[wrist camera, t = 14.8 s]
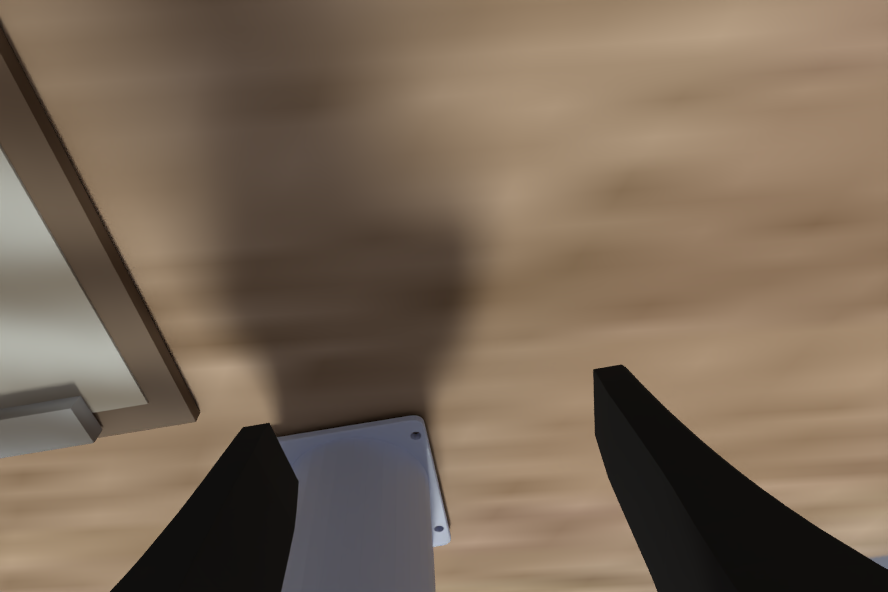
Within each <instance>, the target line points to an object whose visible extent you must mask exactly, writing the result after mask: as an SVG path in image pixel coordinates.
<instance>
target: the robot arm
mask: <svg viewBox="0 0 888 592" xmlns="http://www.w3.org/2000/svg"><path fill="white" fill-rule="evenodd" d="M593 378H594V417H595V436H596V440H597V443H598V446H599V449H600V453H601V456H602V459H603V462H604V466H605V469H606V472H607V475H608V478H609V480H610V483H611V485H612V487H613V490H614V492H615V494H616V497H617V499H618V501H619V504H620V506H621V508H622V510H623V513H624V515H625V517H626V520H627V522H628V524H629V526H630V529H631V531H632V533H633V535H634V538H635V540H636V542H637V544H638V547H639V549H640V551H641V554H642V556H643V558H644V560H645V563H646V565H647V567H648V569H649V572H650V574H651V576H652V579H653V581H654V584H655V586H656V589H657V591H658V592H888V569H886V568H884V567H882V566H880V565H879V564H877V563H875V562H874V561H872V560H871V559H869V558H867V557H866V556H864V555H862V554H861V553H859V552H857V551H856V550H854V549H853V548H851V547H849V546H848V545H846V544H844V543H843V542H841V541H839V540H838V539H836V538H834V537H833V536H831V535H830V534H828V533H826V532H825V531H823V530H821V529H820V528H818V527H817V526H815V525H814V524H812V523H811V522H809V521H808V520H806V519H805V518H803V517H802V516H800V515H799V514H797V513H796V512H794V511H793V510H791V509H790V508H788V507H787V506H785V505H784V504H783V503H781V502H780V501H778V500H777V499H776V498H774V497H773V496H771V495H770V494H769V493H767V492H766V491H764V490H763V489H762V488H760V487H759V486H758V485H756V484H755V483H754V482H752V481H751V480H750V479H748V478H747V477H746V476H744V475H743V474H742V473H741V472H739V471H738V470H737V469H735V468H734V467H733V466H732V465H730V464H729V463H728V462H727V461H726V460H724V459H723V458H722V457H721V456H719V455H718V454H717V453H716V452H714V451H713V450H712V449H711V448H710V447H709V446H707V445H706V444H705V443H704V442H703V441H702V440H700V439H699V438H698V437H697V436H696V435H695V434H694V433H693V432H692V431H690V430H689V429H688V428H687V427H686V426H685V425H684V424H683V423H682V422H680V421H679V420H678V419H677V418H676V417H675V416H674V415H673V414H672V413H671V412H670V411H669V410H667V409H666V408H665V407H664V406H663V405H662V404H661V403H660V402H659V401H658V400H657V399H656V398H655V397H654V396H653V395H652V394H651V393H650V392H649V391H648V390H647V389H646V388H645V387H644V386H643V385H642V384H641V383H640V382H639V381H638V380H637V378H636V377H635V376H634V375H633V374H632V373H631V372H630V371H629V370H628V369H627V368H626V367H624V366H623V365H616V366H610V367H604V368H598V369H593ZM413 432H419V433H418V434H413ZM450 540H451V535H450V530H449V525H448V521H447V517H446V512H445V508H444V504H443V500H442V495H441V491H440V487H439V483H438V478H437V474H436V470H435V466H434V461H433V457H432V453H431V448H430V444H429V440H428V436H427V431H426V427H425V423H424V420H423V418H421V417H420V416H417V415H411V416H405V417H399V418H393V419H386V420H380V421H374V422H368V423H362V424H356V425H349V426H343V427H337V428H331V429H325V430H319V431H313V432H306V433H300V434H294V435H288V436H282V437H276V435H275V433H274V431H273V429H272V427H271V425H270V423H266V424H260V425H254V426H248V427H243V428H242V429H241V430H240V432H239V433H238V434H237V436H236V437H235V438H234V440H233V441H232V442H231V444H230V445H229V446H228V448H227V449H226V450H225V452H224V453H223V454H222V456H221V457H220V458H219V460H218V461H217V462H216V464H215V465H214V466H213V468H212V469H211V470H210V472H209V473H208V474H207V476H206V477H205V478H204V480H203V481H202V482H201V484H200V485H199V486H198V488H197V489H196V490H195V492H194V493H193V494H192V495H191V497H190V498H189V499H188V501H187V502H186V503H185V505H184V506H183V507H182V508H181V510H180V511H179V512H178V514H177V515H176V516H175V517H174V518H173V520H172V521H171V522H170V523H169V524H168V526H167V527H166V528H165V529H164V530H163V532H162V533H161V534H160V535H159V536H158V538H157V539H156V540H155V541H154V543H153V544H152V545H151V546H150V547H149V549H148V550H147V551H146V552H145V553H144V555H143V556H142V557H141V558H140V559H139V560H138V561H137V563H136V564H135V565H134V566H133V567H132V568H131V569H130V570H129V572H128V573H127V574H126V575H125V576H124V577H123V578H122V579H121V580H120V581H119V583H118V584H117V585H116V586H115V587H114V588H113V589H112V590H111V591H110V592H436V590H435V571H434V553H433V547H435V546H442V545H446V544H448V543H449V542H450Z"/></svg>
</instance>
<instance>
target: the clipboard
mask: <svg viewBox="0 0 888 592" xmlns="http://www.w3.org/2000/svg"><path fill="white" fill-rule="evenodd" d="M199 414H200V411H199V410H198V408H197V406H196V404H195V402H194V400H193V398H192V396H191V394H190V392H189V390H188V388H187V386H186V384H185V383H184V381H183V379H182V377H181V375H180V373H179V371H178V369H177V367H176V365H175V363H174V361H173V359H172V357H171V355H170V354H169V352H168V350H167V348H166V346H165V344H164V342H163V340H162V338H161V336H160V334H159V332H158V330H157V328H156V327H155V325H154V323H153V321H152V319H151V317H150V315H149V313H148V311H147V309H146V307H145V305H144V303H143V301H142V299H141V298H140V296H139V294H138V292H137V290H136V288H135V286H134V284H133V282H132V280H131V278H130V276H129V274H128V272H127V271H126V269H125V267H124V265H123V263H122V261H121V259H120V257H119V255H118V253H117V251H116V249H115V247H114V245H113V244H112V242H111V240H110V238H109V236H108V234H107V232H106V230H105V228H104V226H103V224H102V222H101V220H100V218H99V216H98V215H97V213H96V211H95V209H94V207H93V205H92V203H91V201H90V199H89V197H88V195H87V193H86V191H85V189H84V188H83V186H82V184H81V182H80V180H79V178H78V176H77V174H76V172H75V170H74V168H73V166H72V164H71V162H70V160H69V159H68V157H67V155H66V153H65V151H64V149H63V147H62V145H61V143H60V141H59V139H58V137H57V135H56V133H55V132H54V130H53V128H52V126H51V124H50V122H49V120H48V118H47V116H46V114H45V112H44V110H43V108H42V106H41V104H40V103H39V101H38V99H37V97H36V95H35V93H34V91H33V89H32V87H31V85H30V83H29V81H28V79H27V77H26V76H25V74H24V72H23V70H22V68H21V66H20V64H19V62H18V60H17V58H16V56H15V54H14V52H13V50H12V48H11V47H10V45H9V43H8V41H7V39H6V37H5V35H4V33H3V31H2V29H1V27H0V458H5V457H11V456H17V455H23V454H29V453H35V452H41V451H47V450H53V449H60V448H66V447H72V446H78V445H84V444H90V443H94V442H95V440H96V439H97V438H100V437H106V436H112V435H118V434H125V433H131V432H137V431H143V430H149V429H155V428H161V427H167V426H173V425H180V424H186V423H192V422H196V420H197V418H198V416H199Z"/></svg>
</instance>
